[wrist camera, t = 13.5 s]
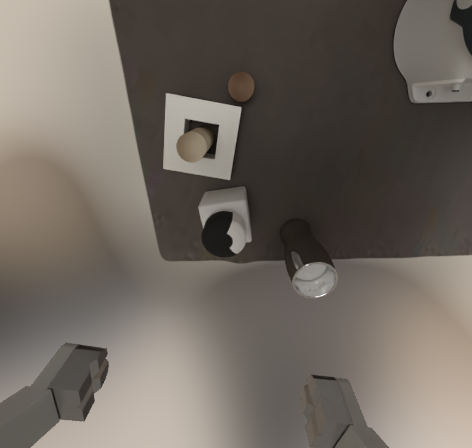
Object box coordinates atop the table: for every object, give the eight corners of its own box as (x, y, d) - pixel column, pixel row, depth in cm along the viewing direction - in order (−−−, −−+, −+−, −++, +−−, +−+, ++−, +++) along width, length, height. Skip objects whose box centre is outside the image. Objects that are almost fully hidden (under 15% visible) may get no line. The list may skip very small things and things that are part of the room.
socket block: (241, 107, 39) (241, 107, 35) (230, 174, 44) (229, 180, 40) (173, 94, 39) (166, 93, 35) (169, 163, 43) (163, 168, 40)
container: (212, 227, 49) (202, 266, 37) (204, 191, 45) (190, 220, 34) (250, 222, 48) (253, 260, 36) (245, 185, 45) (246, 213, 33)
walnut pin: (254, 78, 37) (256, 74, 33) (250, 103, 39) (251, 103, 34) (231, 73, 37) (230, 69, 33) (228, 99, 39) (226, 98, 34)
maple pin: (216, 127, 41) (206, 135, 30) (213, 149, 42) (203, 164, 31) (194, 123, 40) (177, 130, 30) (192, 146, 42) (175, 160, 31)
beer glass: (307, 211, 47) (333, 254, 33) (316, 240, 49) (344, 291, 36) (272, 224, 48) (284, 270, 35) (284, 252, 51) (299, 305, 37)
